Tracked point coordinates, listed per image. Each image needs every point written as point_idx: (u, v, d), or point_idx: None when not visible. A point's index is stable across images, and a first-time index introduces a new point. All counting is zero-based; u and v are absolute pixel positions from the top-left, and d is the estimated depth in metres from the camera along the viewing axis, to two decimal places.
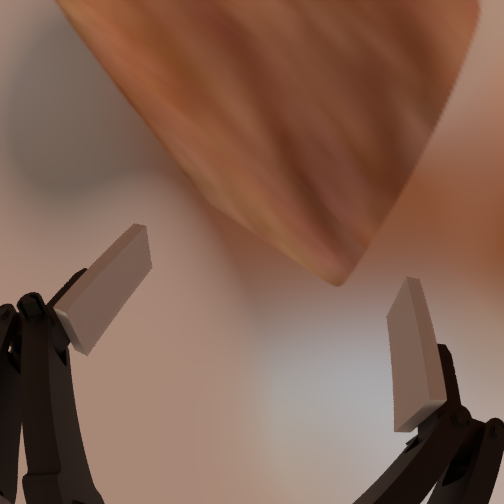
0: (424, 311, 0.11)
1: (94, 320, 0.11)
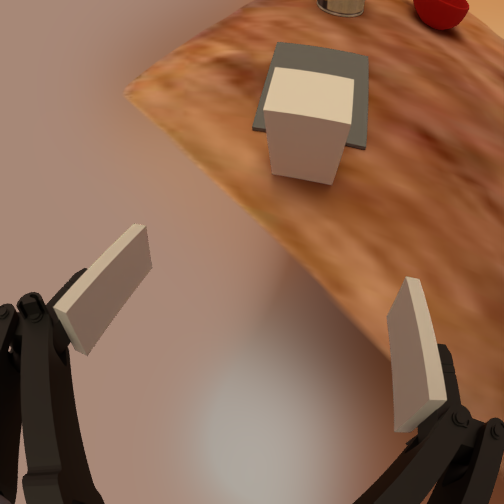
0: (424, 311, 0.11)
1: (94, 320, 0.11)
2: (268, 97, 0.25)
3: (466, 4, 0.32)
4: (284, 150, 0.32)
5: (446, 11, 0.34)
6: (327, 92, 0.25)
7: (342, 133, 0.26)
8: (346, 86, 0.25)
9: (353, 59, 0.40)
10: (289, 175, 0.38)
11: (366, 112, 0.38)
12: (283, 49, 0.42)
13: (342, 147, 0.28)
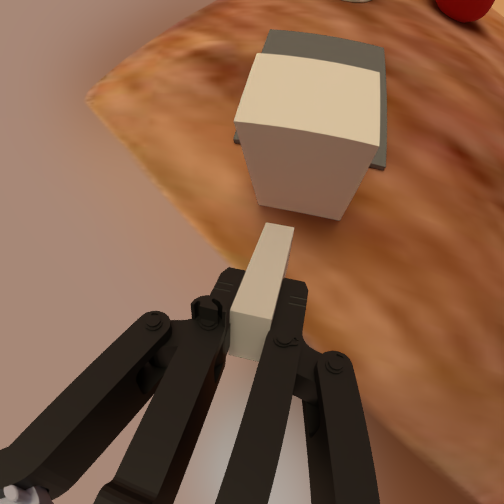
0: (283, 250, 0.14)
1: None
2: (243, 100, 0.16)
3: None
4: (273, 179, 0.22)
5: (471, 0, 0.24)
6: (338, 91, 0.15)
7: (362, 158, 0.16)
8: (368, 82, 0.15)
9: (366, 50, 0.31)
10: (282, 207, 0.28)
11: (385, 119, 0.28)
12: (277, 38, 0.32)
13: (360, 178, 0.18)
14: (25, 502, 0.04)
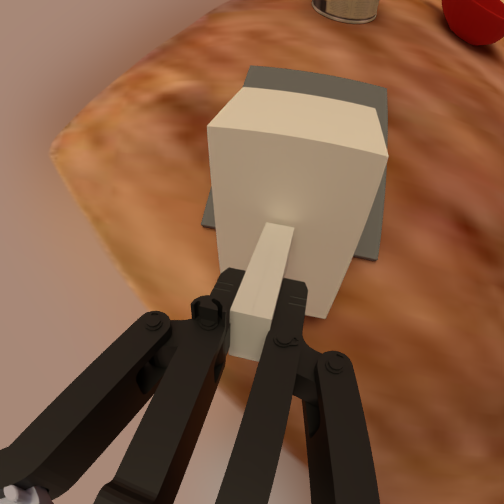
0: (283, 250, 0.14)
1: None
2: (222, 113, 0.13)
3: None
4: (246, 242, 0.18)
5: (489, 22, 0.21)
6: (333, 115, 0.14)
7: (366, 184, 0.13)
8: (365, 113, 0.14)
9: (365, 93, 0.28)
10: None
11: (382, 193, 0.26)
12: (258, 78, 0.30)
13: (361, 226, 0.15)
14: (25, 502, 0.04)
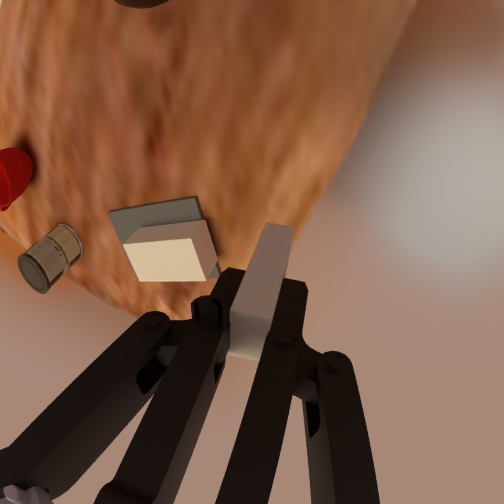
0: (283, 250, 0.14)
1: None
2: None
3: None
4: (167, 272, 0.49)
5: (13, 170, 0.45)
6: None
7: (130, 246, 0.48)
8: None
9: (118, 223, 0.55)
10: (199, 269, 0.47)
11: (163, 204, 0.50)
12: None
13: (141, 243, 0.47)
14: (25, 502, 0.04)
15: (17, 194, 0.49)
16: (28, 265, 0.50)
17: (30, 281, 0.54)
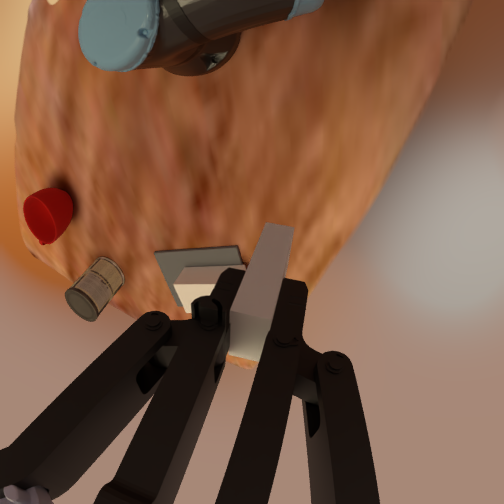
0: (283, 250, 0.14)
1: None
2: None
3: (30, 196, 0.54)
4: None
5: (58, 213, 0.56)
6: None
7: (180, 286, 0.60)
8: None
9: (163, 262, 0.66)
10: None
11: (207, 250, 0.61)
12: None
13: (191, 285, 0.59)
14: (25, 502, 0.04)
15: (61, 233, 0.60)
16: (77, 298, 0.62)
17: (77, 310, 0.65)
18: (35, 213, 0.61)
